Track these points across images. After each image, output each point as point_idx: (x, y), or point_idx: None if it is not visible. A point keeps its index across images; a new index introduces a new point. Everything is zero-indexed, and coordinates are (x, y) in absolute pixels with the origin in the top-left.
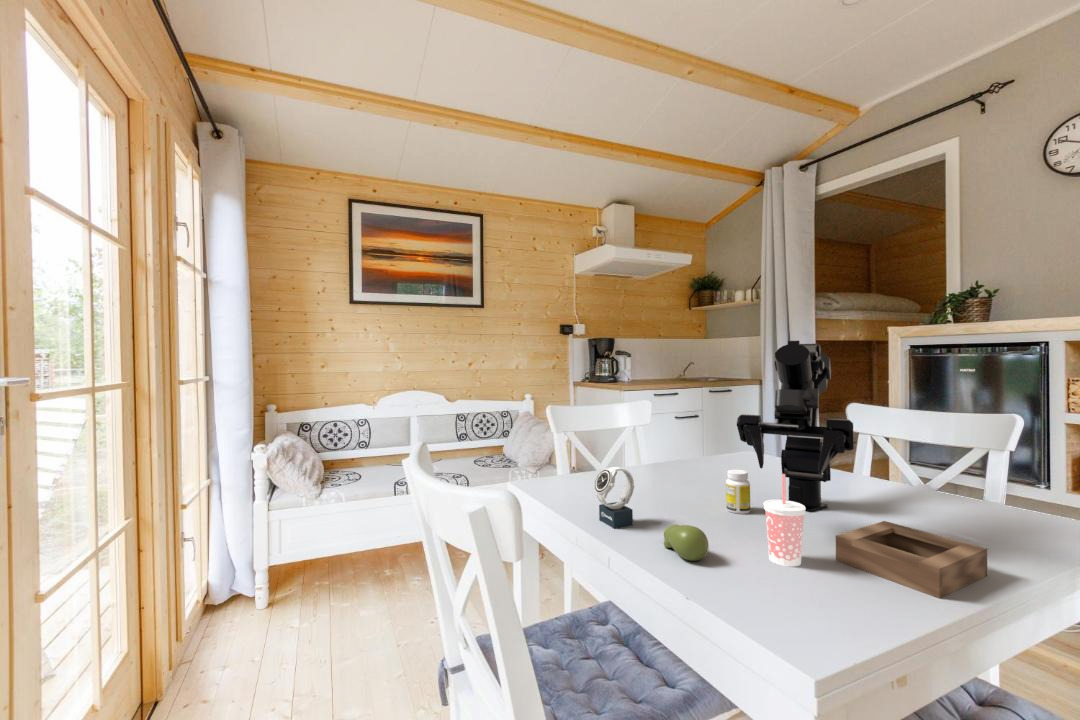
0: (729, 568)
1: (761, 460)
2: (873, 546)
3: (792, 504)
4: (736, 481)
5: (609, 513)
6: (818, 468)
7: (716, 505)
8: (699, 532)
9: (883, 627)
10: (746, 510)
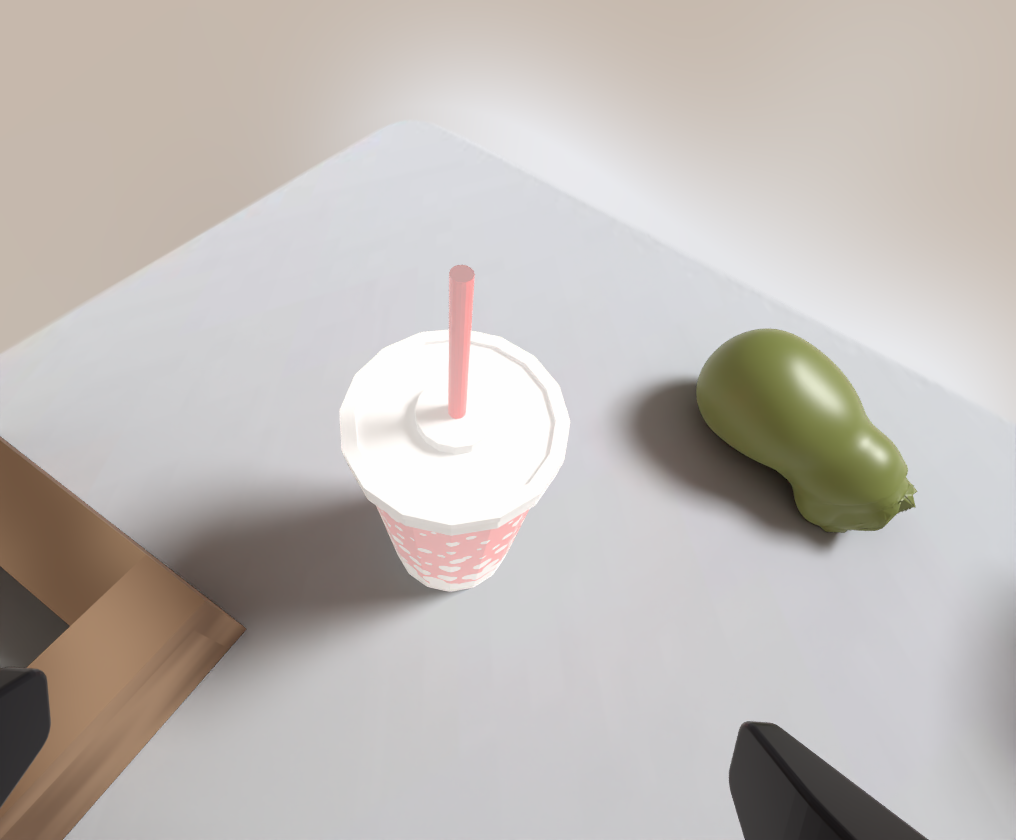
0: (611, 397)
1: (787, 757)
2: (66, 516)
3: (409, 462)
4: None
5: None
6: (8, 695)
7: None
8: (749, 346)
9: (250, 249)
10: None
